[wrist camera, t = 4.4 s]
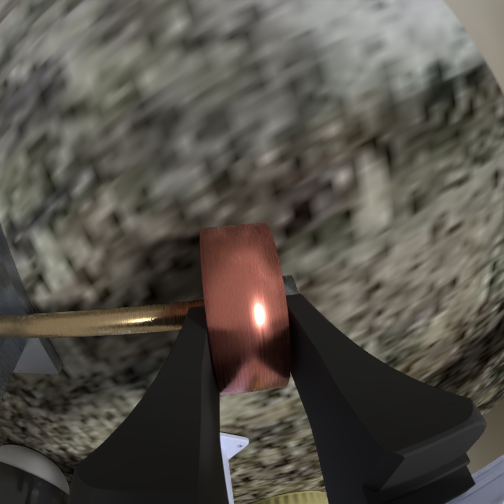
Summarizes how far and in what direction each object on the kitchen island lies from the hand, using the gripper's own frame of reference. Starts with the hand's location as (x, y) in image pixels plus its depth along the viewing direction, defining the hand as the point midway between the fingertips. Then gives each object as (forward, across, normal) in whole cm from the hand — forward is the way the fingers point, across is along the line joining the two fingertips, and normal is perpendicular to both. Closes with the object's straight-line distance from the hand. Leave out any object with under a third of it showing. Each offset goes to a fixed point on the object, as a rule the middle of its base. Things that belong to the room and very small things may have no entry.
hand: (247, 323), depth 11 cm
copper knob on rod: (+4, +7, 0) cm, 8 cm away
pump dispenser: (+5, +24, +21) cm, 32 cm away
